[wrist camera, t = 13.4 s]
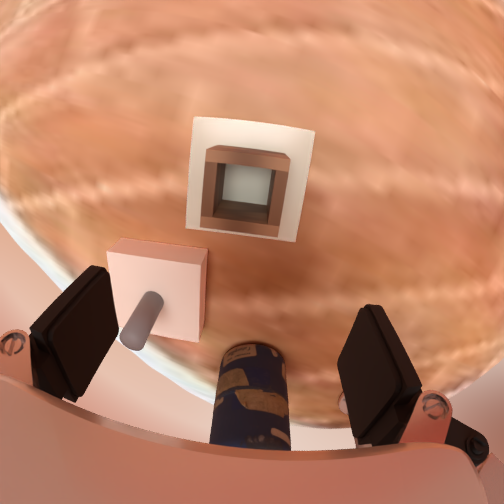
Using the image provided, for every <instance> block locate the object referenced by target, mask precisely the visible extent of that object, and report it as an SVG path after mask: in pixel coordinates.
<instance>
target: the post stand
mask: <svg viewBox="0 0 504 504" xmlns="http://www.w3.org/2000/svg"><path fill="white" fill-rule="evenodd" d="M207 255H208V249H206V248H198V247H191V246H183V245H175V244H168V243H160V242H152V241H145V240H137V239H130V238H121V239H119V240H118V241H117V242H116V243H115V244H114V245H113V246H112V247H111V248H110V249H109V250H108V251H107V259H108V267H109V274H110V278H111V285H112V292H113V298H114V304H115V310H116V315H117V320H118V325H119V327H123V330H122V332H121V333H120V340H121V342H122V343H123V344H124V345H125V346H126V347H127V348H129V349H131V350H135V351H139V350H141V349H142V348H143V347H144V345H145V343H146V340H147V338H148V336H149V334H154V335H159V336H164V337H169V338H175V339H180V340H186V341H192V342H198V343H199V341H200V337H201V333H202V329H203V326H204V318H205V293H206V272H207Z"/></svg>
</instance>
